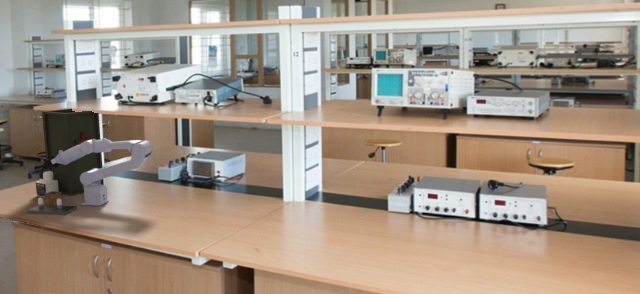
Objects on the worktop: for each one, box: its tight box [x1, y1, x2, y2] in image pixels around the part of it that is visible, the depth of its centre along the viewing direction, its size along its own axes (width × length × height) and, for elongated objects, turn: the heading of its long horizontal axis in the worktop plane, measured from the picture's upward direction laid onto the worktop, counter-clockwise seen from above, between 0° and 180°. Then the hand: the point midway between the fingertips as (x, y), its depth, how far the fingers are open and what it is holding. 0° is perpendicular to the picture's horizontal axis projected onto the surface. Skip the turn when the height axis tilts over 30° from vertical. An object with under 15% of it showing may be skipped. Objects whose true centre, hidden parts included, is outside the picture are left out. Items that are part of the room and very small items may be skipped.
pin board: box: [26, 196, 78, 216], centre depth 247 cm, size 18×9×6 cm, turn 81°
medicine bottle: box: [35, 170, 59, 198], centre depth 273 cm, size 7×7×12 cm
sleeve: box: [44, 191, 63, 205], centre depth 259 cm, size 5×5×5 cm
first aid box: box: [41, 108, 105, 196], centre depth 282 cm, size 18×18×40 cm
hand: (48, 165), depth 259 cm, fingers open, 7 cm apart
